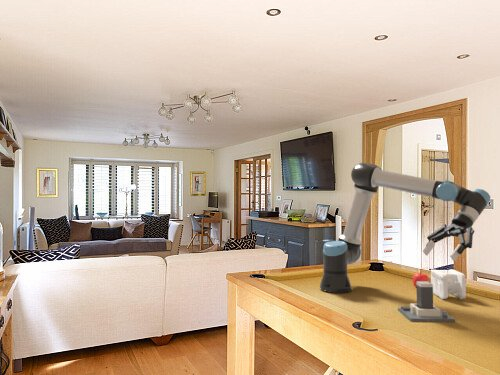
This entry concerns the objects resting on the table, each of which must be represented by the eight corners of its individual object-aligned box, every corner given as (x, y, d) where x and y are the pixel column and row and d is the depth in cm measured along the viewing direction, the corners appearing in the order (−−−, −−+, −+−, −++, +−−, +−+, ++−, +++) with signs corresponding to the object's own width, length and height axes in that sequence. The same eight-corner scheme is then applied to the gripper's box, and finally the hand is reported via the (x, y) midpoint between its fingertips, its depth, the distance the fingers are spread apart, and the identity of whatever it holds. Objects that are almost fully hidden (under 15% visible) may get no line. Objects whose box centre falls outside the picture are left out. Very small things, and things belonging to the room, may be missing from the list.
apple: (426, 285, 197) (425, 270, 197) (432, 289, 189) (431, 273, 189) (410, 285, 198) (410, 270, 198) (415, 289, 190) (415, 273, 190)
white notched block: (467, 301, 167) (467, 274, 168) (442, 301, 168) (442, 274, 169) (452, 293, 182) (452, 268, 183) (429, 292, 183) (429, 268, 184)
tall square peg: (421, 314, 145) (421, 283, 146) (416, 311, 150) (416, 281, 150) (433, 314, 145) (432, 284, 146) (428, 311, 150) (427, 281, 150)
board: (410, 321, 141) (410, 311, 141) (397, 310, 155) (397, 301, 155) (455, 321, 140) (454, 312, 140) (437, 310, 154) (437, 301, 154)
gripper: (497, 227, 152) (470, 267, 147) (444, 222, 175) (419, 257, 170) (488, 214, 150) (460, 254, 145) (436, 211, 174) (410, 245, 168)
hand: (438, 256), depth 157 cm, fingers open, 13 cm apart
